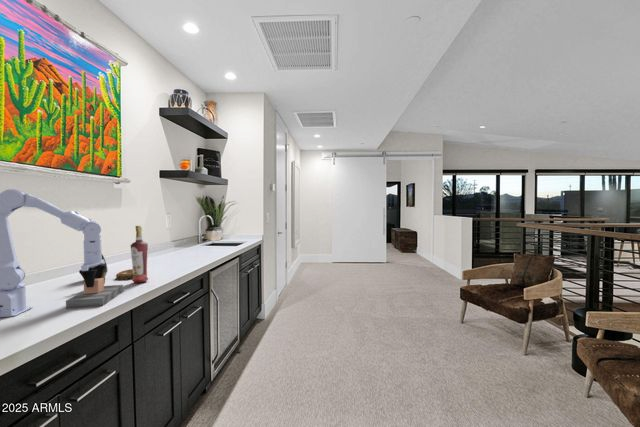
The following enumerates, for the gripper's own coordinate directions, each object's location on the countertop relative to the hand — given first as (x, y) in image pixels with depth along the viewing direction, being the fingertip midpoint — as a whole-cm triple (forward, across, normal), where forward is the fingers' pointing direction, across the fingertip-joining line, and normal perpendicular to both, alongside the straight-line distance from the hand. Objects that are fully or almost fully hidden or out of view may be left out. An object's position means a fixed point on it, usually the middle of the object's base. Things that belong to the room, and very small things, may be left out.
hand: (94, 285), depth 124 cm
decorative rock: (+6, +41, 0) cm, 42 cm away
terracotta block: (+3, 0, 0) cm, 3 cm away
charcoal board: (+6, 0, -1) cm, 6 cm away
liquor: (+6, +26, -9) cm, 28 cm away
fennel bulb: (+6, +19, +7) cm, 21 cm away
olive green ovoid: (+6, +40, +16) cm, 44 cm away
